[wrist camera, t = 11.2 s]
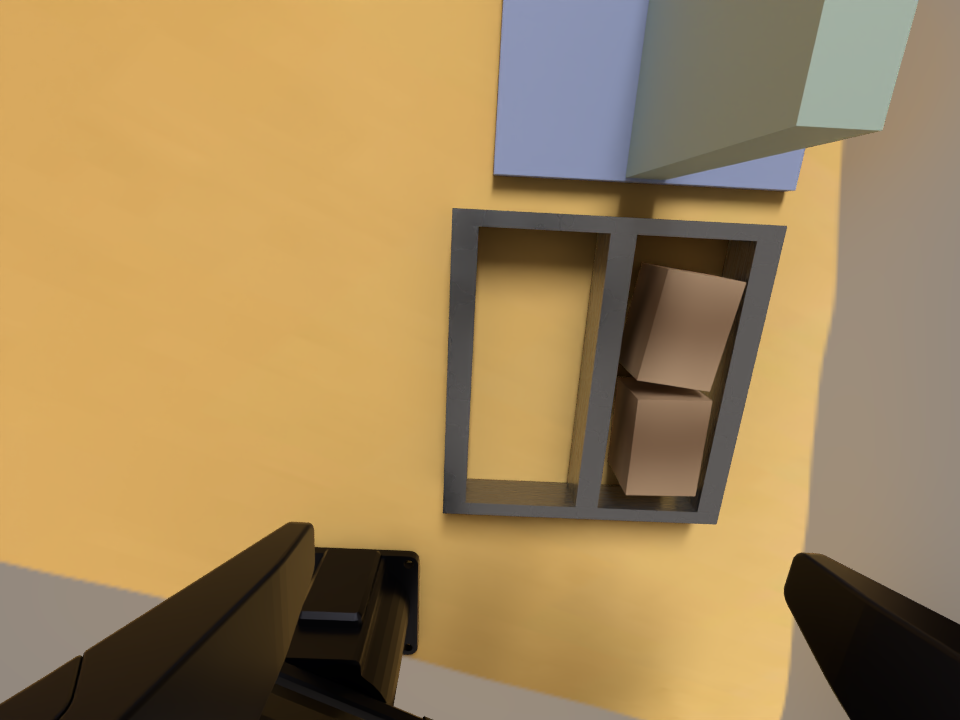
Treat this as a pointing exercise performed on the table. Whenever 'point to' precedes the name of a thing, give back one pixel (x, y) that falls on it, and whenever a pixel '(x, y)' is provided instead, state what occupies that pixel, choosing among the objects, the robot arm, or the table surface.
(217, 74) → the table surface
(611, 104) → the mat
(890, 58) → the green upright panel
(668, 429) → the offcut
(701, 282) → the offcut
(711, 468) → the rack
